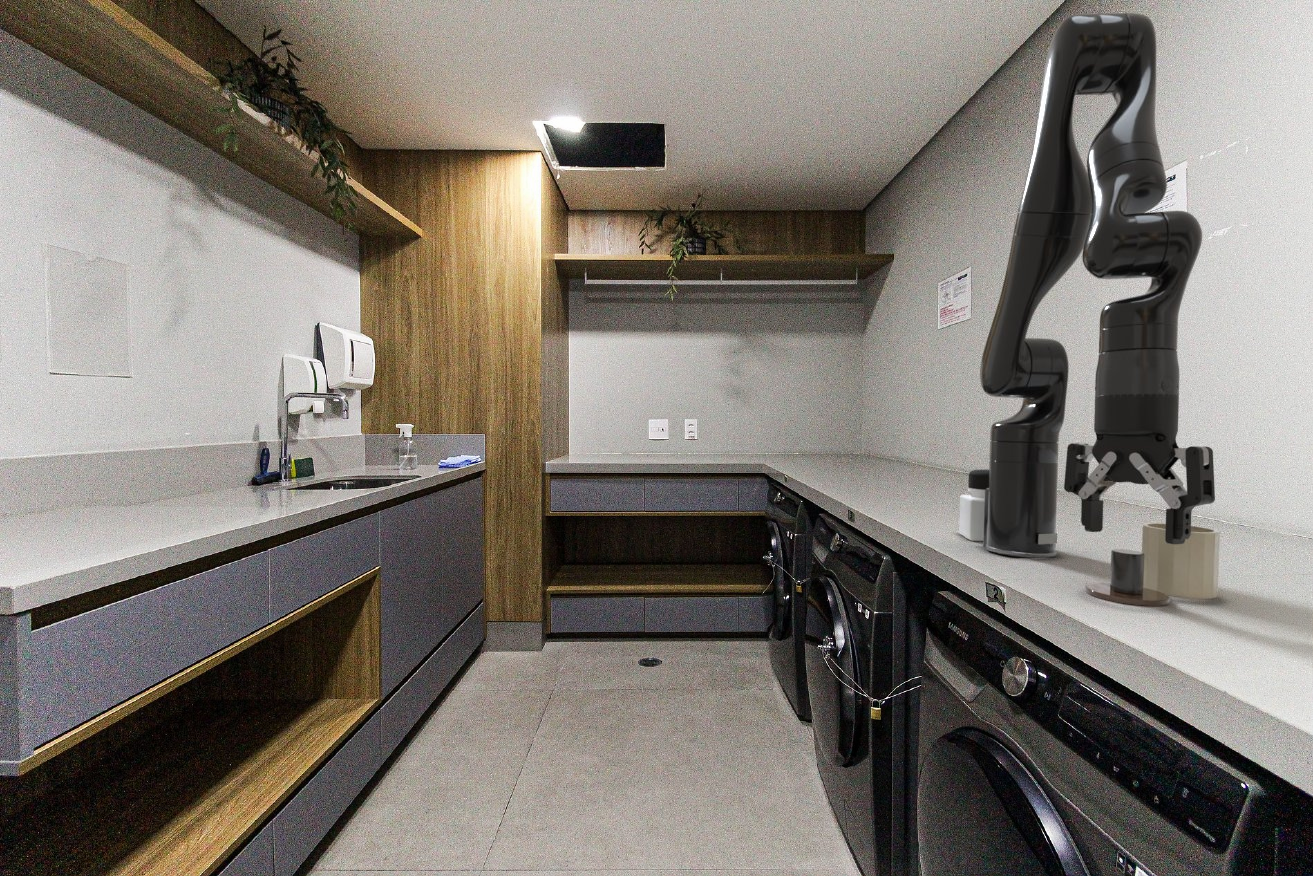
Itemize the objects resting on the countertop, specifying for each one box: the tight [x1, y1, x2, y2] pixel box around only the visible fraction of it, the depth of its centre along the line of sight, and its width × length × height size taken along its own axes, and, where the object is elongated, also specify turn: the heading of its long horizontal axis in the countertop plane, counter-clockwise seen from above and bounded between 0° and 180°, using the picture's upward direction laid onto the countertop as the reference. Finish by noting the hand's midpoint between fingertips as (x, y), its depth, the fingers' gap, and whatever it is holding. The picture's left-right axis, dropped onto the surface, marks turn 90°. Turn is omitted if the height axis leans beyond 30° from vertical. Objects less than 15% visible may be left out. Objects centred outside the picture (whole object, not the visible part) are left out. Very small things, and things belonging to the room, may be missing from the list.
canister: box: [1140, 522, 1221, 600], centre depth 75 cm, size 7×7×8 cm
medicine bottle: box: [958, 468, 989, 542], centre depth 111 cm, size 7×7×12 cm
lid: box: [1085, 548, 1170, 607], centre depth 72 cm, size 8×8×6 cm
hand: (1131, 537), depth 71 cm, fingers open, 8 cm apart
